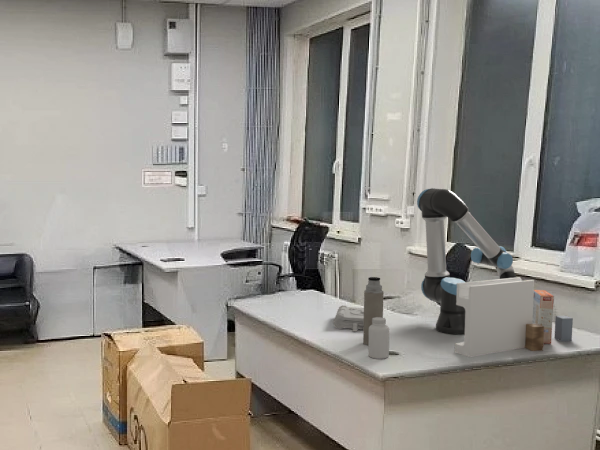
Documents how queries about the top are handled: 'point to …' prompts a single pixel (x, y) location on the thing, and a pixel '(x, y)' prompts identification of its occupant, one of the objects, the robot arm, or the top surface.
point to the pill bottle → (378, 339)
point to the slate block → (563, 328)
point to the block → (495, 315)
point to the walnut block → (534, 337)
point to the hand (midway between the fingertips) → (523, 316)
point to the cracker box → (543, 312)
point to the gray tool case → (349, 318)
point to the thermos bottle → (372, 305)
